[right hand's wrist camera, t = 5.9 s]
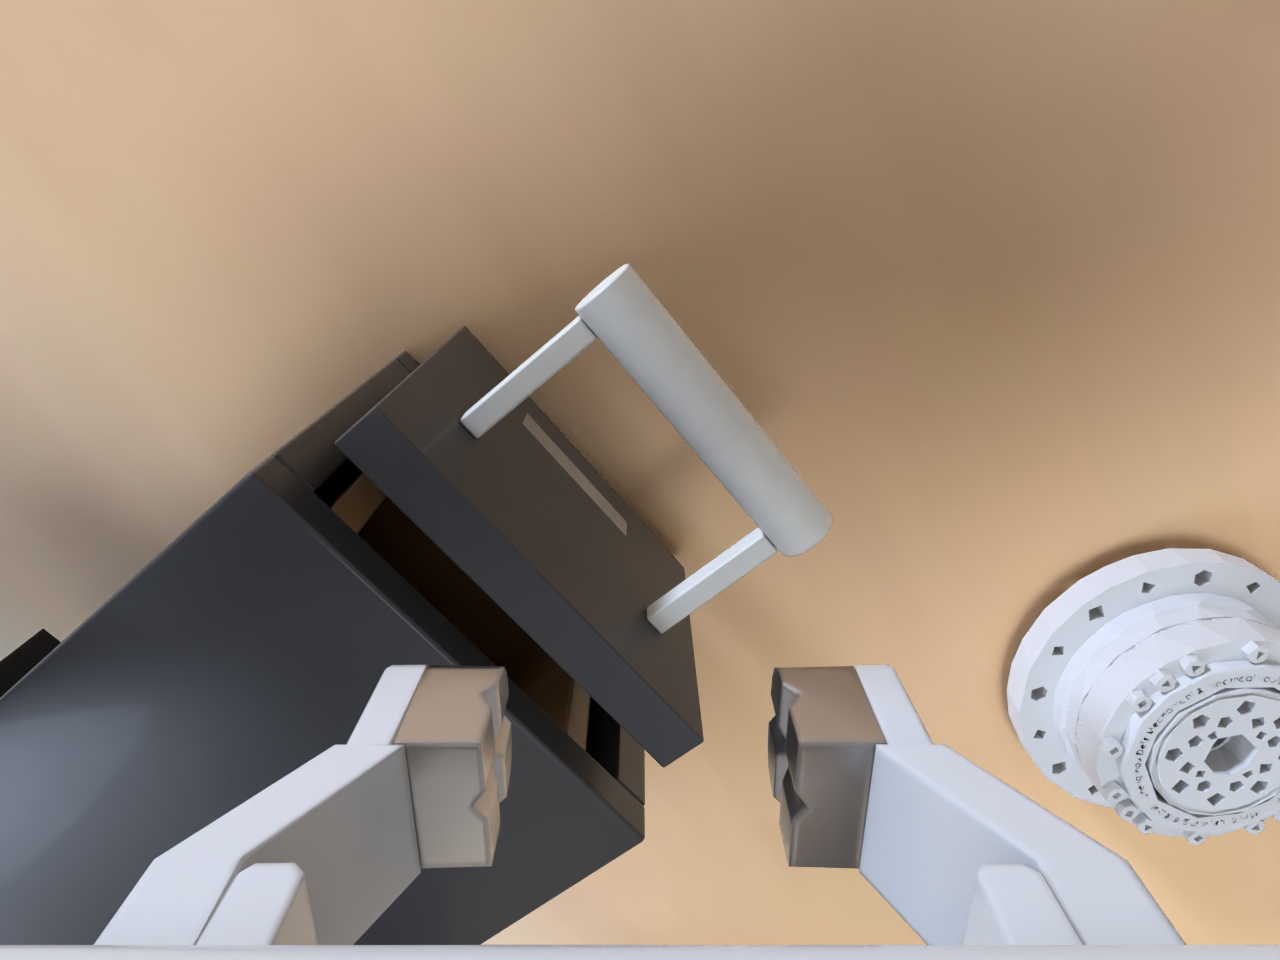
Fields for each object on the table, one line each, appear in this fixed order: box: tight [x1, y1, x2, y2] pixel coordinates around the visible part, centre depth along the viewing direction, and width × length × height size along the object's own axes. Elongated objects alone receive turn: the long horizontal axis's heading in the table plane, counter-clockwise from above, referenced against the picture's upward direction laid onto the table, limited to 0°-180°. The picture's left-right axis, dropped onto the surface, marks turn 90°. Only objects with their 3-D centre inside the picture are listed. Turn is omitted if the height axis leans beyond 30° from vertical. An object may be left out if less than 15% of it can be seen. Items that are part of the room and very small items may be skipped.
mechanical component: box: [1007, 548, 1280, 845], centre depth 26 cm, size 10×4×10 cm
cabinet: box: [0, 351, 645, 945], centre depth 23 cm, size 16×11×10 cm
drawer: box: [319, 264, 832, 767], centre depth 22 cm, size 19×10×8 cm, turn 130°
